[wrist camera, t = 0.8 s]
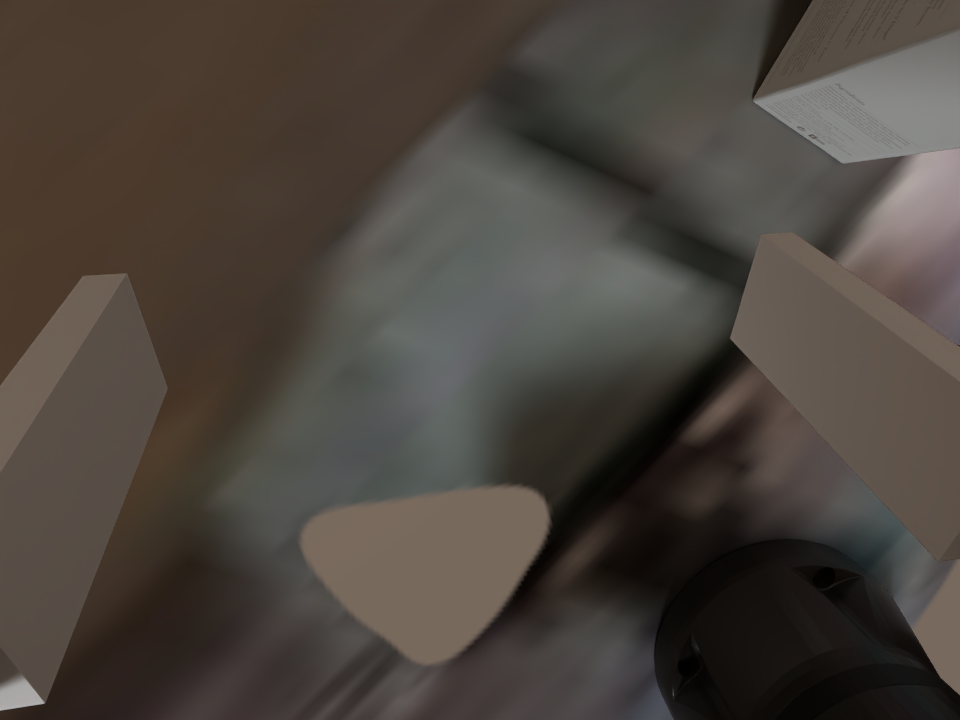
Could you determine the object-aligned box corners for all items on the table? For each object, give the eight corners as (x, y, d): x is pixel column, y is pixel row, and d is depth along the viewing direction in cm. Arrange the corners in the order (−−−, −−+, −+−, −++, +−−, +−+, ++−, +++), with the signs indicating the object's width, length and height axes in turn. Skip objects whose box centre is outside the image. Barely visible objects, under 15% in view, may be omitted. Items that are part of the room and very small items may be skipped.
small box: (841, 166, 33) (1103, 136, 20) (747, 101, 31) (963, 25, 19) (934, 22, 31) (1279, -108, 19) (840, -51, 30) (1140, -242, 17)
